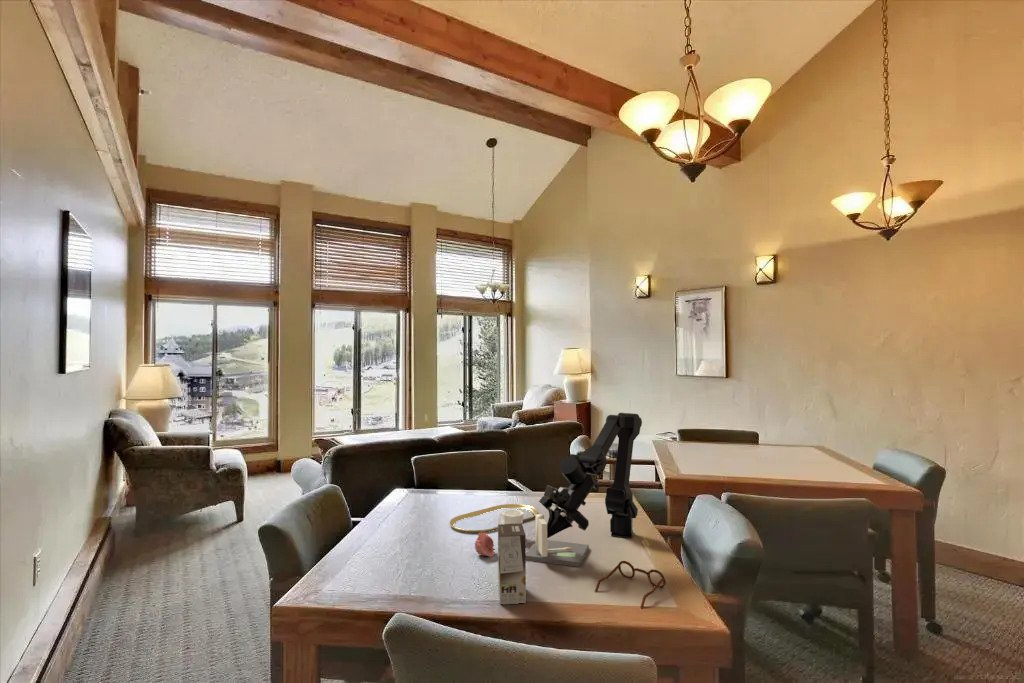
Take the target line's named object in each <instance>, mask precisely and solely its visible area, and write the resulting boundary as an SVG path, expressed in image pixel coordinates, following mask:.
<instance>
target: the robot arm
mask: <svg viewBox="0 0 1024 683" xmlns="http://www.w3.org/2000/svg"><path fill="white" fill-rule="evenodd" d="M642 425H643V420H642V417H640V415H639V414H638V413H630V412H619V413H618V414H610V415H606V419H605V423H604V424H603V426H602V428H601V429H600V432H599V433H598V435H597V436H596V439H595V440H594V442H593V444H592V445H591V446H590V447H587V448H586V449H585V450H584V451H583V452H582V453H581V455H579V456H578V455H577V454H574V453H570V455H569V457H566V458H564V459H563V460H562V461H561V462H560V463H559V467H558V468H559V472H560V473H561V474H562V475H563V477H564V478H565V479H566V480H567V482H569V486H568V487H566V486H565V487H563V486H560V487H559V488H556V487H553V486H551V485H548V484H547V485H546V487H545V489H544V493H543V496H541V498H540V499H539V501H538V502H539V503H540V504H541V505H542V506H543V507H544V508H545V509H546V510H547V511H548V520H547V522H546V523H547V539H550V538H551V537H553V536H555V535H557V534H558V533H560V532H562V531H564V530H566V529H569V528H573V522H575V524H577V525H578V526H577V527H578V529H580V530H582V531H584V532H585V531H586V530H587V528H588V527H589V525H590V524H589V520H588V518H586V516H584V514H582V513H581V512H580V511H579V508H580V507H581V506H583V507H584V506H586V504H587V502H586V499H587V497H588V496H589V494H590V493H591V492H592V490H593V489H595V490H598V489H599V484H598V479H596V478H594V477H592V475H593V476H601V475H603V473H604V472H605V469H606V467H607V464H608V461H607V460H608V459H607V454H608V453H609V451H610V449H611V447H612V445H613V443H614V442H615V440H616V438H618V443H617V448H616V450H617V451H616V458H615V459H616V460H615V467H614V474H613V482H612V484H611V486H609V487H606V494H605V498H604V504H605V510H606V513H607V515H610V516H611V517H610V519H609V521H610V522H609V523H610V524H609V525H610V526H609V528H610V533H611V534H610V536H612V537H617V536H620V538H626V537H630V538H629V539H632V538H631V537H633V534H634V532H633V531H634V529H633V527H634V526H633V519H637V516H638V513H639V512H638V510H639V509H638V507H637V506H636V504H635V502H634V500H633V498H634V495H633V491H632V490H631V487H630V476H631V468H632V467H631V466H632V461H633V460H632V459H633V458H632V457H633V450H634V442H635V440H636V439H637V437H638V436H639V435H640V432H641V427H642Z"/></svg>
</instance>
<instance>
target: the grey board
mask: <svg viewBox="0 0 1024 683" xmlns="http://www.w3.org/2000/svg"><path fill="white" fill-rule="evenodd" d="M589 546H590V544H585V543H578V542H567V541H559V540H553V539H552V540H550V539H547V549H558V548H569V547H571V550H560V551H547V557H542V556H541V554H538V553H536V541H534V543H533V544H532V545H531V546H530V547H529V549H528V550H527V551H526V561H533V562H538V563H539V562H540V563H547V564H555V565H561V566H562V565H564V566H571V567H579V568H580V566H581V564H582V562H583V560H584V559H585V556H586V555H587V553H588V551H589V550H590V548H589Z"/></svg>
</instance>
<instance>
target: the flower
mask: <svg viewBox="0 0 1024 683" xmlns="http://www.w3.org/2000/svg"><path fill="white" fill-rule="evenodd" d="M479 532H480V531H479ZM477 536H478V537H477V538H476V540H475V542H474V549H475V551H476V553H477V554H478V555H480V556H483V557H484V556H488V557H491V558H492V557H494V556H495V555H494V554H496V552H495V550H496V549H495V548H494V547H495V545H494V539H492V537H491V536H489V534H488V533H486V532H485V531H484V533H483V532H482V533H481V532H480V533H477Z"/></svg>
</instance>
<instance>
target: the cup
mask: <svg viewBox="0 0 1024 683" xmlns="http://www.w3.org/2000/svg"><path fill="white" fill-rule="evenodd" d="M524 515H525V513H524V512H523V511H522V510H520V509H507V510H504V511H503V512H501V513H500V514H499V516H498V525H499V524H502V521H503V524H520V523H522V524H523V522H524V521H523V519H524Z"/></svg>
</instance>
